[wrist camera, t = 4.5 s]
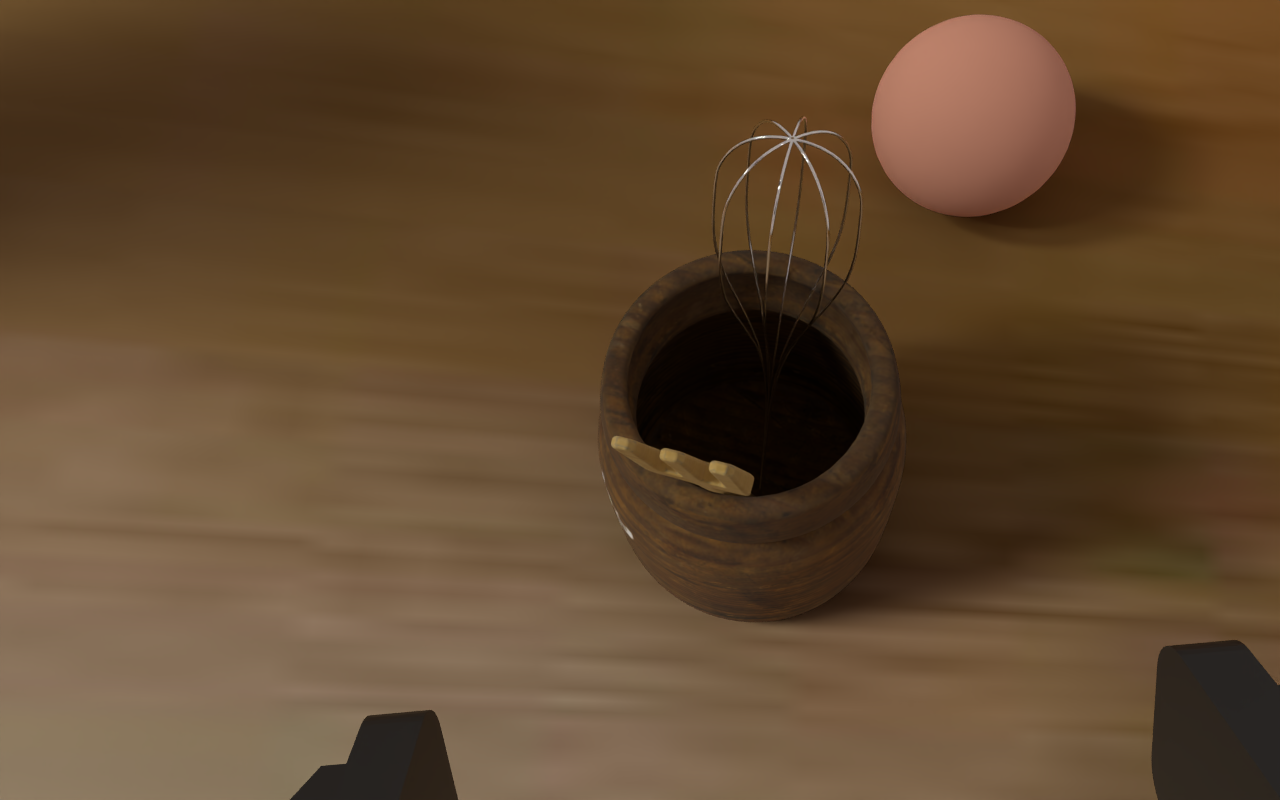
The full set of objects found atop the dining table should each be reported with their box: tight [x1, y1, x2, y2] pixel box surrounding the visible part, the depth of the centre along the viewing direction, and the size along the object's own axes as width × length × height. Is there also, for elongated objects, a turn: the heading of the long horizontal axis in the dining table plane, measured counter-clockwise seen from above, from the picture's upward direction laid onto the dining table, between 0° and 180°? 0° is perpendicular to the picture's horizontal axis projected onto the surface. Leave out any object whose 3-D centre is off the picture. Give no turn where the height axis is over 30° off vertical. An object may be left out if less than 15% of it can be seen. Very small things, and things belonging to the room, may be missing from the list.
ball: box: [871, 15, 1076, 217], centre depth 26 cm, size 4×4×4 cm
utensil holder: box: [598, 116, 906, 622], centre depth 20 cm, size 6×6×12 cm
